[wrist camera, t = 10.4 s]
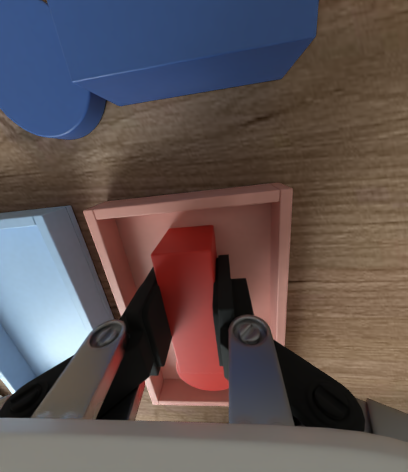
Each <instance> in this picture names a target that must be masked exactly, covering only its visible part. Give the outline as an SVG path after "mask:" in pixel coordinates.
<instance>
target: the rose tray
mask: <svg viewBox="0 0 408 472" xmlns="http://www.w3.org/2000/svg"><path fill="white" fill-rule="evenodd" d="M292 198H293V188H290V187H288V186H286V185H284V184H281V183H279V182H278V183H269V184H260V185H251V186H242V187H233V188H224V189H214V190H205V191H196V192H187V193H178V194H169V195H160V196H151V197H142V198H132V199H123V200H114V201H106V202H103V203H101V204H98V205H96V206H93V207H90V208H88V209H85V210H83V213H84V216H85V219H86V221H87V224H88V227H89V230H90V232H91V235H92V238H93V241H94V243H95V246H96V249H97V252H98V254H99V257H100V260H101V263H102V265H103V268H104V271H105V274H106V276H107V279H108V282H109V285H110V287H111V290H112V293H113V296H114V298H115V301H116V304H117V307H118V309H119V312H120V315H121V316H122V314H123V313H124V311H125V310H126V308H127V306H128V305H129V303H130V301H131V300H132V298H133V297H134V295H135V293H136V292H137V290H138V288H139V287H140V286H141V284H143V282H144V280H145V279H146V277H147V275H148V274H149V272H150V271H151V269H152V267H153V263H152V259H151V253H152V252H153V251H154V249H155V248H156V246H157V245H158V243H159V242H160V241H161V239H162V238H163V236H164V235H165V234H166V232H167V231H168V229H170V228H182V227H193V226H204V225H213V226H214V234H215V243H216V252H217V258H218V255H228V254H229V264H230V275H231V279H236V278H246V280H247V285H248V289H249V294H250V298H251V303H252V308H253V312H254V316H257V317H260V318H261V319H263V320H264V321H265V322H266V323H267V324H268V325H269V327H270V329H271V333H272V337H273V339H274V340H275V341H277V342H278V343H280V344H281V345H283V346H284V347H285V333H286V314H287V294H288V275H289V256H290V237H291V217H292ZM176 361H177V359H176V355H175V351H174V347H173V343H172V340H171V343H170V347H169V351H168V355H167V359H166V363H165V365H164V367H161V368H160V372H159V375H158V376H149V378H147V379H146V380H145V384H146V386H147V389H148V392H149V395H150V397H151V400H152V403H153V405H159V404H160V405H193V406H229V388H228V389H225V390H219V391H207V390H201V389H198V388H195V387H193V386H191V385H189V384H187V383H186V382H185V381H183V380H182V379H181V377H180V376H179V375H178V373H177V370H176Z"/></svg>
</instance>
